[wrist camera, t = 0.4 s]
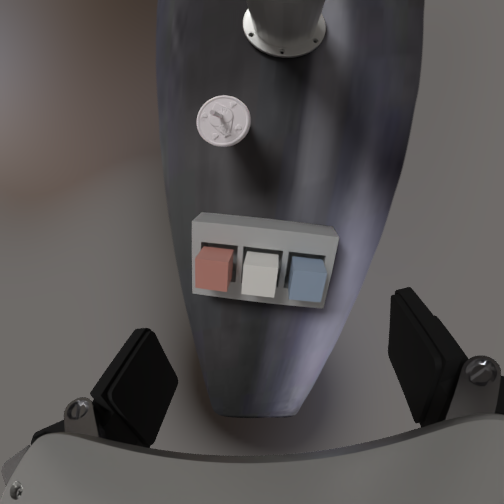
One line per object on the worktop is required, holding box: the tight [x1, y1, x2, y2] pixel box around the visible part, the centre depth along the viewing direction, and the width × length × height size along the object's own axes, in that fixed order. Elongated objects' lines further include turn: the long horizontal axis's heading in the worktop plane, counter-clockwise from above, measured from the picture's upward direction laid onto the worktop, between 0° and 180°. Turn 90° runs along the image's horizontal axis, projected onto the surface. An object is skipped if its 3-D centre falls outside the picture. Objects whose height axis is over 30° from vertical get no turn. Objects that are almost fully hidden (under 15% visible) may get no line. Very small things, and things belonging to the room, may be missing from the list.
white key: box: [241, 251, 278, 298], centre depth 38 cm, size 4×4×4 cm
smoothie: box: [197, 95, 251, 147], centre depth 31 cm, size 6×6×14 cm
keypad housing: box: [192, 212, 339, 308], centre depth 43 cm, size 12×21×5 cm, turn 85°
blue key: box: [288, 256, 327, 302], centre depth 38 cm, size 4×4×4 cm
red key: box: [195, 246, 234, 292], centre depth 39 cm, size 4×4×4 cm
